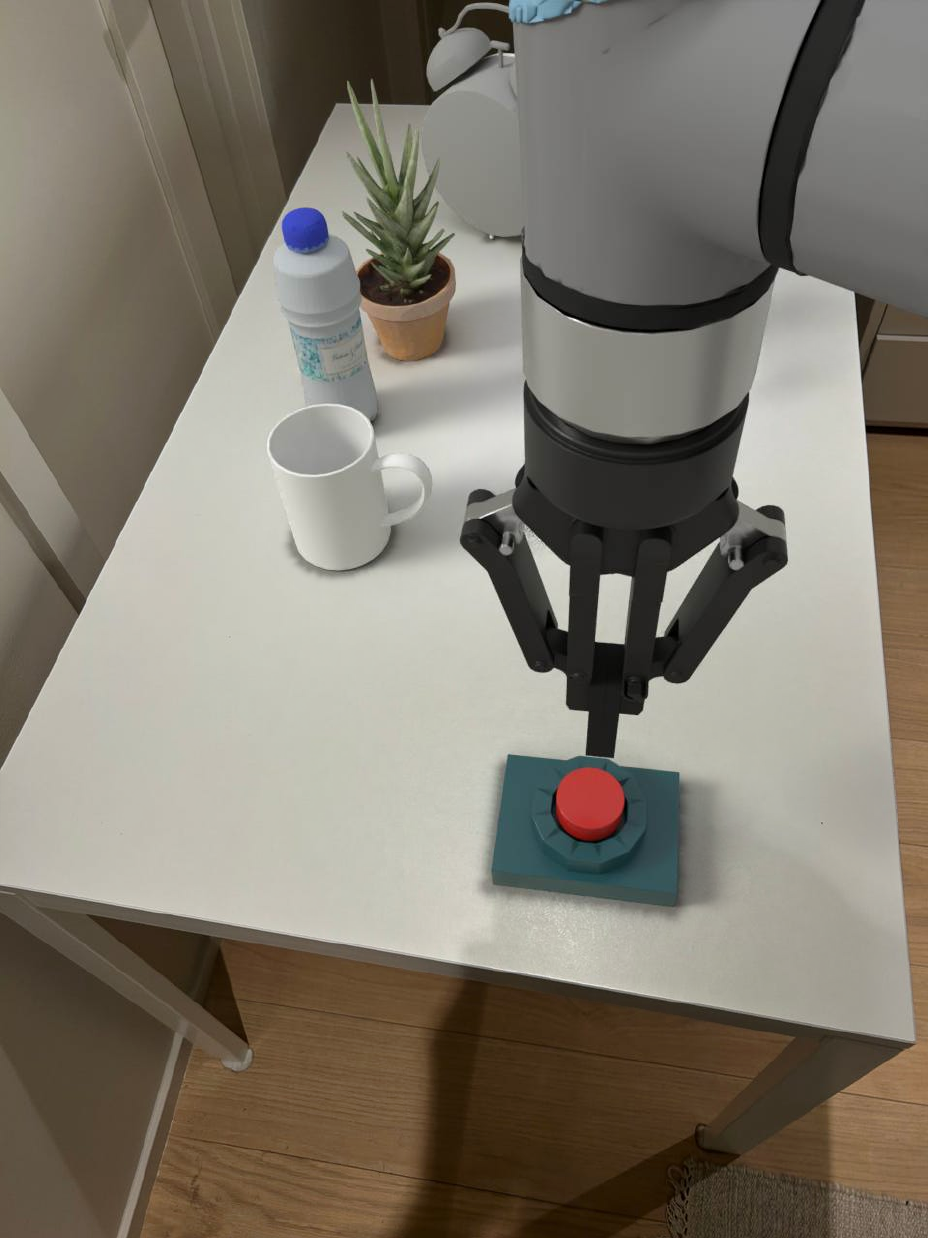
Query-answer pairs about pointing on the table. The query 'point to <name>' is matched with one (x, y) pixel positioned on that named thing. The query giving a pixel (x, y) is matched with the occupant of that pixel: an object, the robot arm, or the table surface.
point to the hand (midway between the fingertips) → (601, 734)
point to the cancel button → (589, 804)
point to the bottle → (323, 313)
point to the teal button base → (605, 868)
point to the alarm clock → (475, 129)
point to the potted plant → (401, 249)
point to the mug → (337, 485)
